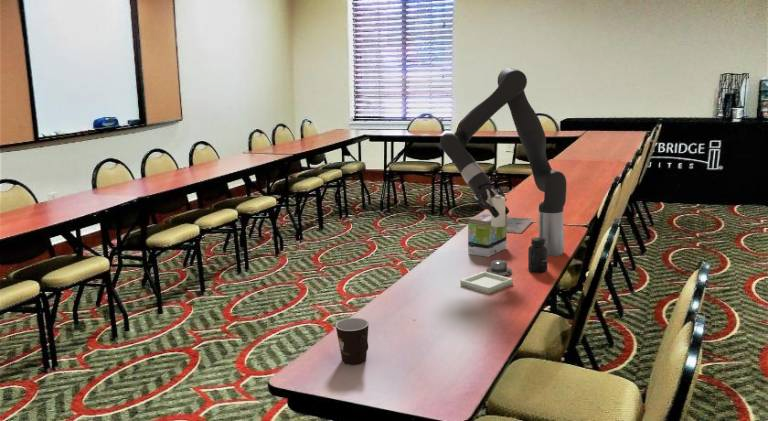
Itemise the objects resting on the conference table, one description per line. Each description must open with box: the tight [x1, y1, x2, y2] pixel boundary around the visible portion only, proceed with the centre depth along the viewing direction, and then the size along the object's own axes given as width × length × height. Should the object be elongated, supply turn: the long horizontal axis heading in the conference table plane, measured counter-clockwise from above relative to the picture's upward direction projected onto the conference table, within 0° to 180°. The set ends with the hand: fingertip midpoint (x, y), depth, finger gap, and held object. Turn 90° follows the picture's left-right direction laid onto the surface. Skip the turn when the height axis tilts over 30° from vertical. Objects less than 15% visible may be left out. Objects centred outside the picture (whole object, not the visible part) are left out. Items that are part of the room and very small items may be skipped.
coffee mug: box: [335, 317, 369, 366], centre depth 169 cm, size 12×9×10 cm
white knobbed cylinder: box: [491, 195, 506, 227], centre depth 230 cm, size 5×5×11 cm
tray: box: [459, 271, 514, 295], centre depth 223 cm, size 13×13×2 cm
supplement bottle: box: [527, 236, 549, 274], centre depth 235 cm, size 7×7×12 cm
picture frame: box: [507, 216, 533, 234], centre depth 301 cm, size 16×2×22 cm
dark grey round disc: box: [485, 259, 513, 277], centre depth 235 cm, size 9×9×4 cm
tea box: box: [467, 211, 508, 258], centre depth 261 cm, size 15×10×15 cm
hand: (502, 214), depth 229 cm, fingers closed on white knobbed cylinder, 5 cm apart
